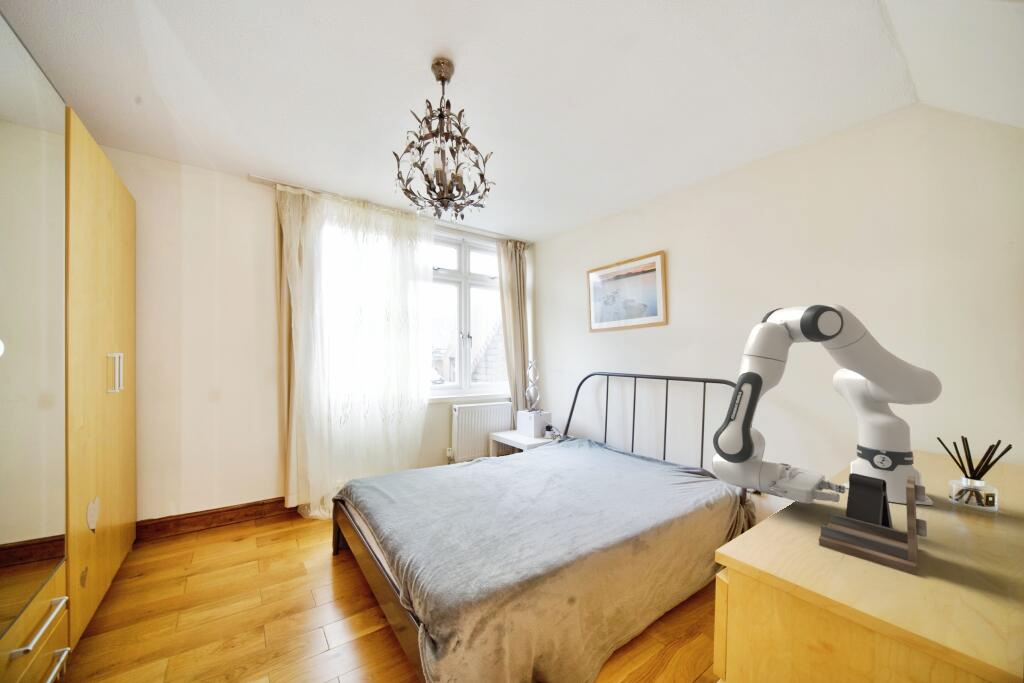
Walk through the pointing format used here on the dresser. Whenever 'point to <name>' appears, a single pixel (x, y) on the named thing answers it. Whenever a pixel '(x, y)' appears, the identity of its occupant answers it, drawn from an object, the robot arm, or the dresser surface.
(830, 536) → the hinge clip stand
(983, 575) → the dresser surface
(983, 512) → the dresser surface
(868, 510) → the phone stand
